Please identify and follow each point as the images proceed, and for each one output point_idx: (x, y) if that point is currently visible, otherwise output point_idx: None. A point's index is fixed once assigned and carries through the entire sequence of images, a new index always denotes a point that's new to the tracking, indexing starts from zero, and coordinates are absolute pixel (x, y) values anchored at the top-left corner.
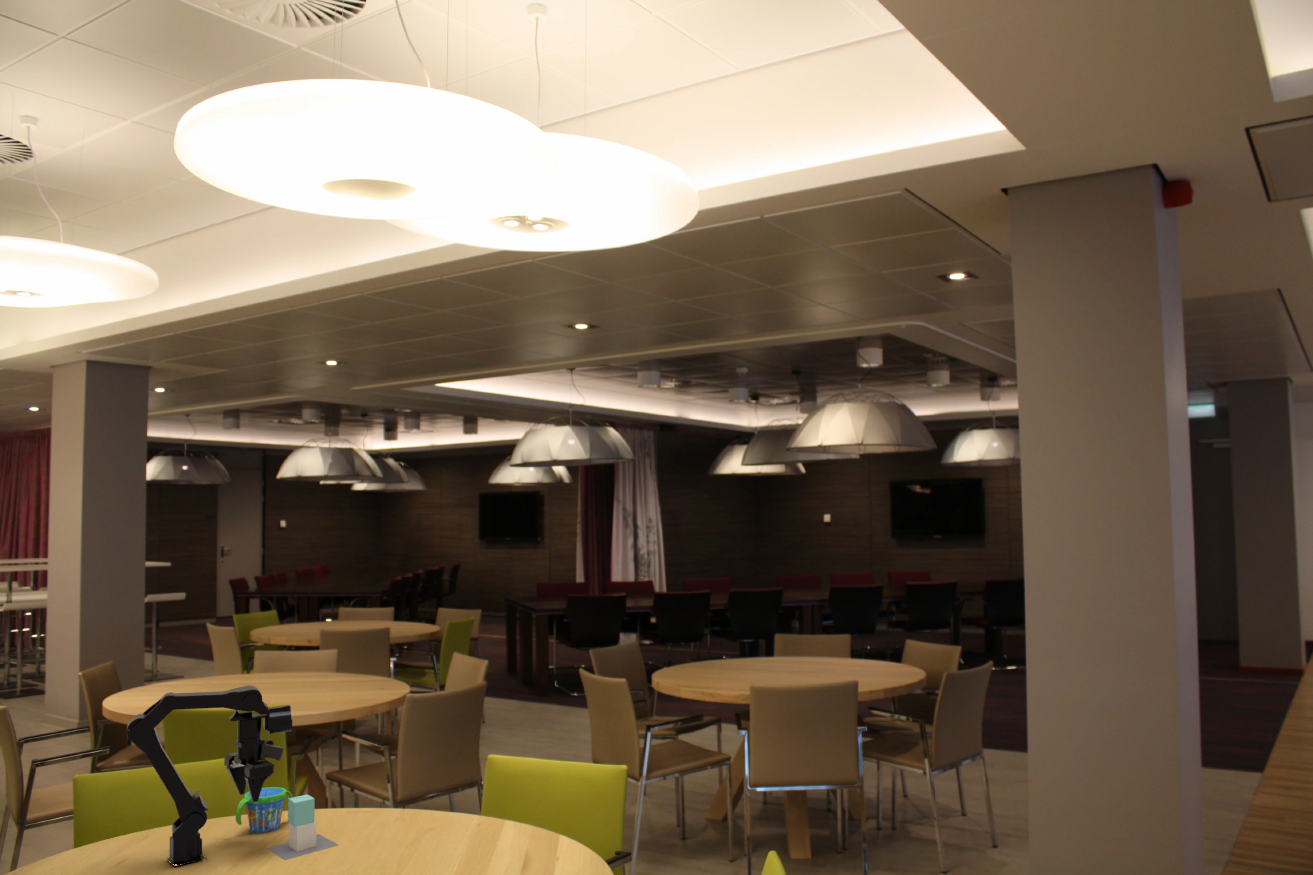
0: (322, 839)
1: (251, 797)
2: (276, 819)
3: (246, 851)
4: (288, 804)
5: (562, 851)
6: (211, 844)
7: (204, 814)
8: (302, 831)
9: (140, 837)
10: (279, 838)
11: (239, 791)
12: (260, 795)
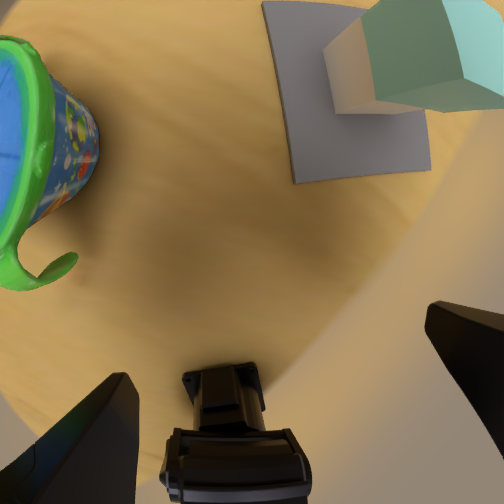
0: (328, 15)
1: (443, 359)
2: (80, 105)
3: (258, 243)
4: (441, 85)
5: None
6: (115, 325)
7: (303, 472)
8: None
9: (26, 409)
10: (185, 111)
11: (137, 420)
12: None
